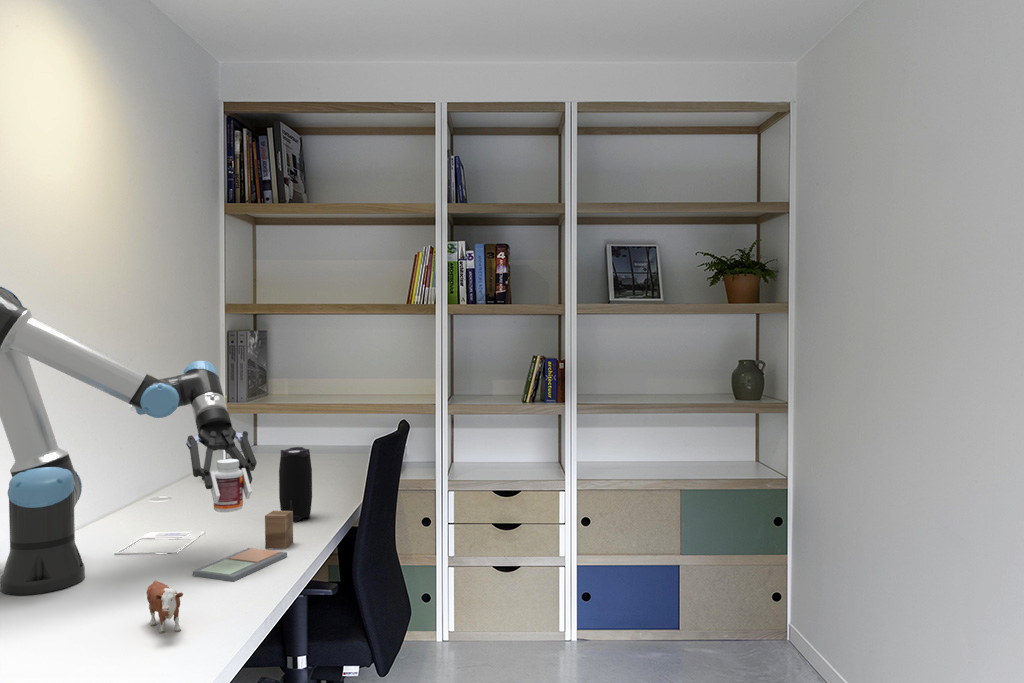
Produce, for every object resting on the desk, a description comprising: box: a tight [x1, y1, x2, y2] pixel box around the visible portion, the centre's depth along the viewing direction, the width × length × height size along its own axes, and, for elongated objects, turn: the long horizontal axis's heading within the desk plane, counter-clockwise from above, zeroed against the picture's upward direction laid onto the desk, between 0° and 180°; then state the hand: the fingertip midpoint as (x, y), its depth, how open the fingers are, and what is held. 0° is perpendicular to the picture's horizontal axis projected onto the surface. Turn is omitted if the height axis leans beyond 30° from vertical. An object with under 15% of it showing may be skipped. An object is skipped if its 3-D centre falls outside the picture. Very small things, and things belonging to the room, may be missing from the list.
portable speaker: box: [278, 446, 313, 523], centre depth 211 cm, size 9×9×20 cm
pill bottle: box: [213, 458, 244, 513], centre depth 169 cm, size 6×6×11 cm
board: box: [191, 547, 288, 582], centre depth 170 cm, size 18×11×1 cm, turn 160°
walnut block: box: [264, 510, 294, 550], centre depth 185 cm, size 5×5×8 cm
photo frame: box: [113, 530, 206, 556], centre depth 188 cm, size 15×1×18 cm
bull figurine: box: [146, 580, 184, 634], centre depth 135 cm, size 4×13×8 cm, turn 36°
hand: (233, 497), depth 166 cm, fingers closed on pill bottle, 6 cm apart
